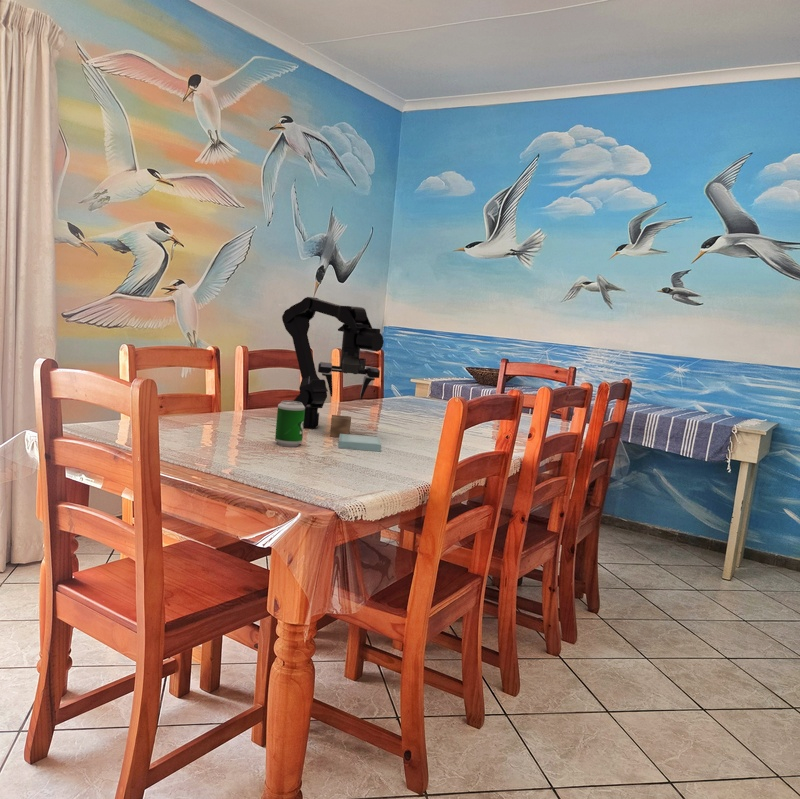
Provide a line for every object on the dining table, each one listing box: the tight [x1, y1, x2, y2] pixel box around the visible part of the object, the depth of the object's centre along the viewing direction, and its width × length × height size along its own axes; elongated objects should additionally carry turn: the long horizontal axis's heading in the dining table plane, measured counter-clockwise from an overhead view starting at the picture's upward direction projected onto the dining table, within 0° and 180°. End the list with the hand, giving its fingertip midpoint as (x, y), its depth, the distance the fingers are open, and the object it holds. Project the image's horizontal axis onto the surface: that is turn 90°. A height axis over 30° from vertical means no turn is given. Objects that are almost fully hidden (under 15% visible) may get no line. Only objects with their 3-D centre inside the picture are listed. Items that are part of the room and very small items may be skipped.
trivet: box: [337, 433, 382, 453], centre depth 203 cm, size 12×12×2 cm
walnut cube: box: [329, 414, 352, 439], centre depth 215 cm, size 6×6×6 cm
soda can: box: [274, 400, 305, 448], centre depth 194 cm, size 8×8×12 cm
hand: (346, 397), depth 215 cm, fingers open, 9 cm apart
